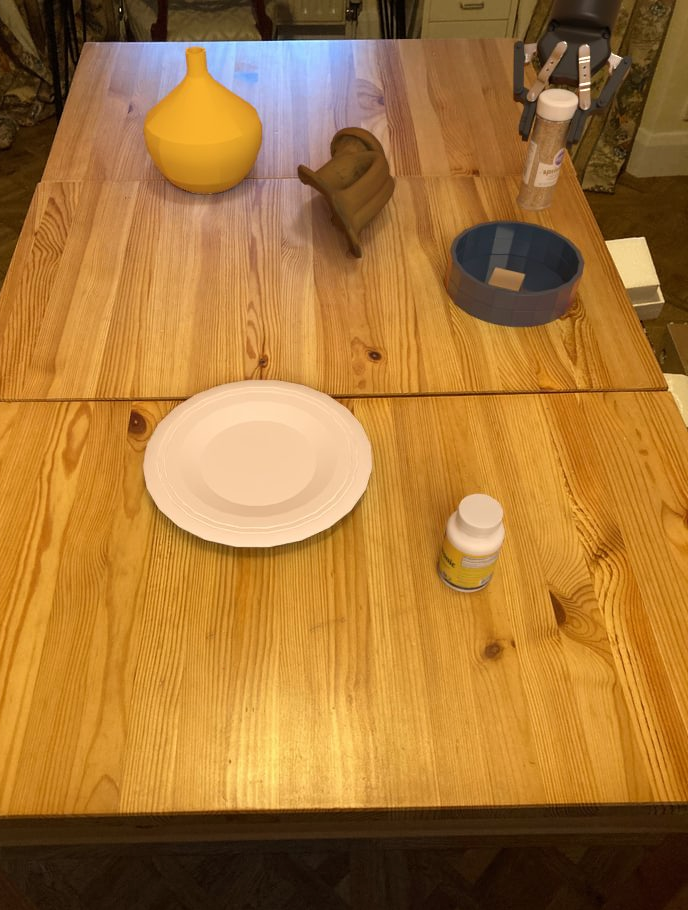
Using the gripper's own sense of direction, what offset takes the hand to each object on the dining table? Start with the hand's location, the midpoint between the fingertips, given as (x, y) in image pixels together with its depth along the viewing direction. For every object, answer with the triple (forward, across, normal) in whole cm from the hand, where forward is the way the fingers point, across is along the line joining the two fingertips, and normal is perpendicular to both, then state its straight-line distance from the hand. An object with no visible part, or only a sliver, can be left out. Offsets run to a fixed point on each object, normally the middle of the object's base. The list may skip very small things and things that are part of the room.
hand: (546, 142), depth 91 cm
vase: (+6, -52, +22) cm, 57 cm away
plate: (+45, -19, -17) cm, 52 cm away
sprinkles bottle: (+5, 0, +8) cm, 10 cm away
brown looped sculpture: (+9, -27, +19) cm, 34 cm away
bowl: (+15, 0, +13) cm, 20 cm away
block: (+18, -1, +10) cm, 20 cm away
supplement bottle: (+49, +5, -21) cm, 54 cm away
